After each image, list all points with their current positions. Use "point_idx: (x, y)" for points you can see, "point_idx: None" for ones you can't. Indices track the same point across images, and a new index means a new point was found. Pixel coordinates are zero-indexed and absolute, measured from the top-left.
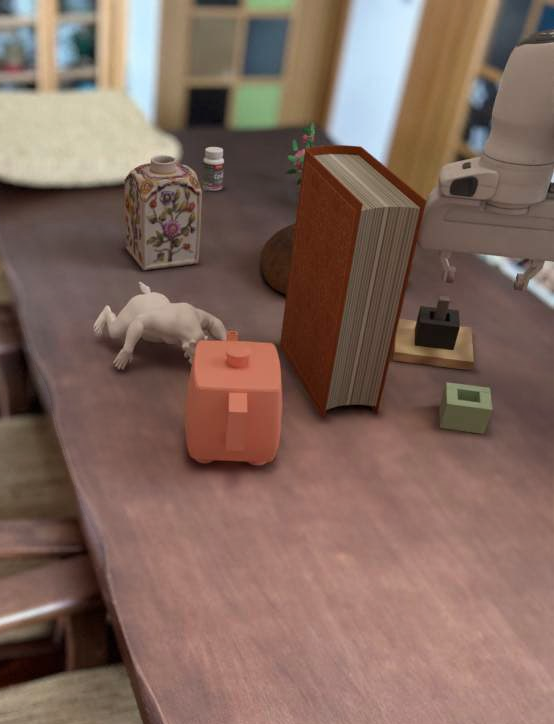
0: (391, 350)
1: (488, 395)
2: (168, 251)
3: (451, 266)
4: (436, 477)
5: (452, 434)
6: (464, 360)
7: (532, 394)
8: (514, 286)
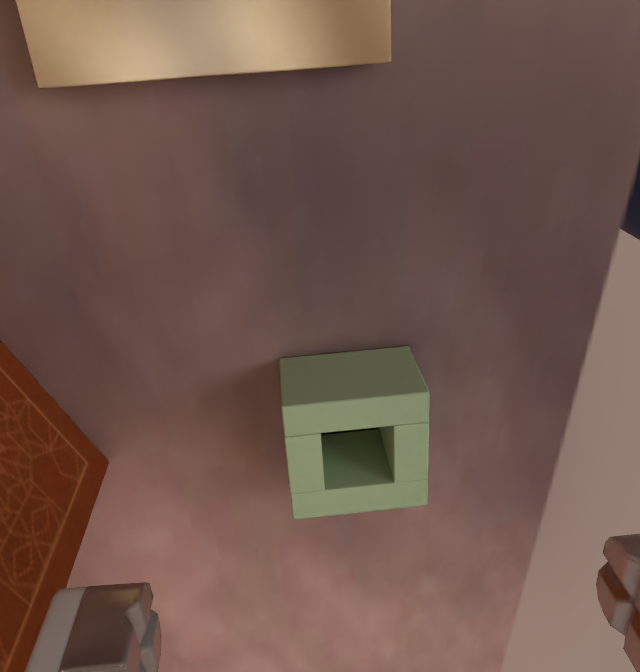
0: None
1: (421, 438)
2: None
3: (86, 670)
4: (297, 623)
5: None
6: (350, 63)
7: (592, 175)
8: (609, 565)
